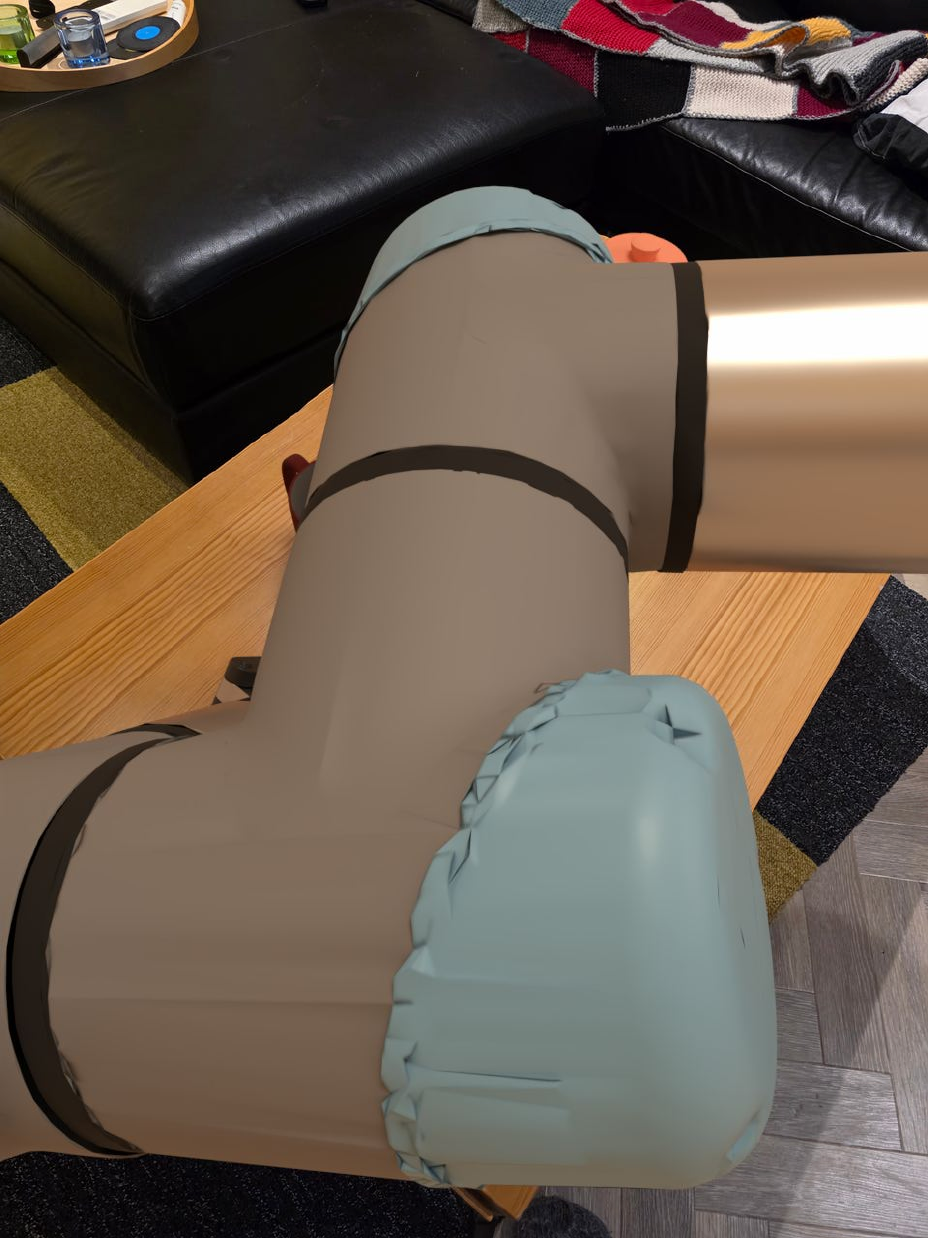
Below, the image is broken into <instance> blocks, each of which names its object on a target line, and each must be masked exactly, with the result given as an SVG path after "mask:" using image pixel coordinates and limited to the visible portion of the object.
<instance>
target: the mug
mask: <svg viewBox="0 0 928 1238" xmlns="http://www.w3.org/2000/svg"><path fill="white" fill-rule="evenodd" d="M315 463H316V459H315V460H313V461H311V462H309V461H308V460H307V459H306V458H305V457H304V456H303V455H301V454H299V453H292V454H291V455H289V456H287V457H286V458H285V459H284V460H283V461H282V462H281V475H282V480H283V484H284V487H285V491H286V495H287V500H288V507H289V512H290V517H291V521H292V525H293V528H294V532H295V533H294V534H296V530H297V526H298V524H299V521H300V517H301V512H302V511H303V510H304V509H305V505H306V500H307V496H308V492H309V488H310V484H311V480H312V476H313V472H314V468H315Z"/></svg>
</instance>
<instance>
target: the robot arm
mask: <svg viewBox="0 0 928 1238" xmlns="http://www.w3.org/2000/svg"><path fill="white" fill-rule="evenodd" d="M361 290H362V291H361V293H360V295H359V298H358V300H357V303H356V305H355V307H354V309H353V311H352V313H351V316H350V318H349V320H348V322H347V324H346V326H345V327H344V328H343V329H342V333H341V339H340V343H339V346H338V347H337V350H336V352H335V355H334V358H333V359H334V360H333V361H334V362H333V363H334V365H333V366H334V367H333V383H332V390H331V391H332V392H331V393H332V394H331V397H330V402H329V406H328V410H327V415H326V419H325V422H324V426H323V430H322V435H321V439H320V443H319V448H318V451H317V456H316V459H315V460H316V463H315V468H314V472H313V476H312V480H311V484H310V488H309V492H308V496H307V500H306V505H305V509H304V510H303V511H302V512H301V517H300V521H299V524H298V526H297V530H296V533H294V538H293V540H292V543H291V547H290V551H289V554H288V558H287V561H286V566H285V569H284V572H283V576H282V579H281V584H280V587H279V590H278V594H277V598H276V601H275V605H274V609H273V612H272V616H271V620H270V624H269V627H268V631H267V635H266V637H265V642H264V645H263V648H262V653H261V656H260V655H255V656H254V655H253V656H233V657H231V658H230V660H229V662H228V665H227V667H226V670H225V671H224V673H223V677H222V679H221V681H220V683H219V685H218V688H217V691H216V693H215V695H214V697H213V700H212V702H211V704H210V705H207V706H205V707H200V708H196V709H193V710H190V711H185V712H182V713H178V714H174V715H170V716H167V717H163V718H159V719H155V720H152V721H148V722H144V723H142V724H139V725H135V726H132V727H128V728H125V729H122V730H119V731H115V732H113V733H110V734H108V735H105V736H103V737H99V738H94V739H89V740H84V741H80V742H75V743H72V744H71V743H70V744H67V745H63V746H58V747H53V748H48V749H44V750H40V751H35V752H31V753H26V754H22V755H18V756H17V755H16V756H12V757H9V758H4V759H0V1162H2V1161H5V1160H7V1159H10V1158H14V1157H17V1156H19V1155H22V1154H26V1153H29V1152H50V1153H60V1154H66V1155H74V1156H75V1155H76V1156H82V1157H83V1156H84V1157H94V1158H103V1159H104V1158H105V1159H117V1160H119V1159H131V1158H133V1159H134V1158H139V1157H141V1156H145V1155H148V1154H150V1155H163V1156H172V1157H179V1158H182V1157H183V1158H190V1159H191V1158H192V1159H200V1160H210V1161H218V1162H228V1163H237V1164H248V1165H255V1166H256V1165H257V1166H267V1167H274V1168H275V1167H276V1168H285V1169H286V1168H287V1169H295V1170H305V1171H314V1172H315V1171H316V1172H324V1173H332V1174H333V1173H335V1174H344V1175H352V1176H363V1177H372V1178H382V1179H391V1180H401V1181H410V1182H415V1183H416V1184H418V1185H420V1186H423V1187H426V1188H431V1189H433V1188H434V1189H450V1188H461V1189H470V1190H477V1191H483V1190H484V1189H485V1188H487V1186H519V1187H520V1186H522V1187H524V1186H526V1187H555V1188H556V1187H558V1188H559V1187H560V1188H594V1189H596V1188H598V1189H630V1190H631V1189H632V1190H633V1189H634V1190H635V1189H636V1190H664V1191H665V1190H667V1191H668V1190H671V1191H676V1190H677V1191H678V1190H679V1191H680V1190H688V1189H691V1188H695V1187H697V1186H700V1185H702V1184H706V1183H708V1182H713V1181H715V1180H717V1179H719V1178H721V1177H723V1176H725V1175H727V1174H729V1173H730V1172H731V1171H732V1170H734V1169H735V1168H736V1167H738V1166H739V1165H740V1164H741V1163H742V1162H743V1161H744V1160H745V1159H746V1158H747V1157H748V1156H749V1155H750V1154H751V1153H752V1152H753V1150H754V1149H755V1147H756V1146H757V1144H758V1143H759V1141H760V1140H761V1138H762V1135H763V1133H764V1131H765V1128H766V1127H767V1124H768V1121H769V1118H770V1115H771V1112H772V1110H773V1105H774V1097H775V1092H776V1087H777V1086H776V1085H777V1075H778V1074H777V1073H778V1054H779V1053H778V1019H777V1016H778V1015H777V1013H778V1012H777V1001H776V1000H777V999H776V986H775V975H774V973H775V972H774V961H773V951H772V950H773V949H772V942H771V933H770V925H769V917H768V916H769V915H768V909H767V901H766V896H765V895H766V894H765V891H764V886H763V881H762V876H761V870H760V866H759V849H758V848H759V847H758V843H757V842H758V841H757V835H756V829H755V820H754V816H753V810H752V807H751V800H750V795H749V790H748V786H747V781H746V778H745V773H744V768H743V764H742V760H741V756H740V754H739V749H738V746H737V742H736V740H735V736H734V733H733V730H732V727H731V724H730V722H729V719H728V717H727V715H726V713H725V711H724V709H723V708H722V706H721V704H720V703H719V702H718V700H717V699H716V697H715V696H714V695H712V694H711V693H710V692H709V691H708V690H707V689H706V688H705V687H704V686H702V685H701V684H700V683H698V682H695V681H693V680H691V679H689V678H686V677H683V676H680V675H675V674H631V625H630V623H631V622H630V621H631V619H630V617H631V616H630V580H629V579H630V577H629V575H630V573H631V574H632V573H634V574H636V573H646V572H647V573H648V572H656V571H657V573H663V574H665V573H666V574H684V572H695V573H696V572H700V573H701V572H704V573H705V572H707V573H794V574H795V573H798V574H799V573H801V574H802V573H805V574H806V573H807V574H812V573H813V574H888V575H889V574H892V575H893V574H895V575H898V574H899V575H905V574H906V575H928V251H926V250H925V251H903V252H883V253H882V252H881V253H880V252H879V253H858V254H857V253H856V254H833V255H832V254H831V255H829V254H828V255H809V256H808V255H807V256H784V257H783V256H781V257H758V258H735V259H734V258H733V259H711V260H710V259H709V260H694V261H688V262H679V263H667V262H630V263H615V262H614V260H613V258H612V256H611V254H610V251H609V249H608V247H607V246H606V244H605V241H604V239H603V238H602V236H601V235H600V234H599V233H598V232H597V231H596V229H595V228H594V227H593V226H592V225H591V224H590V223H589V222H588V221H587V220H586V219H585V218H583V217H582V216H581V215H580V214H579V213H578V212H576V211H574V210H572V209H570V208H569V209H568V208H566V207H564V206H562V205H560V204H559V203H557V202H555V201H553V200H551V199H547V198H545V197H542V196H540V195H537V194H533V193H532V192H531V191H530V190H529V189H525V188H519V187H514V186H498V185H491V186H479V187H477V186H476V187H471V188H466V189H462V190H458V191H454V192H452V193H449V194H447V195H444V196H442V197H439V198H438V199H435V200H433V201H432V202H429V203H428V204H426V205H424V206H422V207H420V208H419V209H417V210H416V211H415V212H414V213H412V214H410V216H408V217H407V218H405V220H403V222H402V223H400V224H399V225H398V227H396V228H395V229H394V230H393V231H392V233H391V234H390V235H389V237H388V238H387V239H386V241H385V242H384V244H383V245H382V246H381V248H380V249H379V251H378V253H377V255H376V257H375V259H374V261H373V264H372V265H371V269H370V270H369V273H368V276H367V278H366V281H365V283H364V286H363V288H362V289H361Z"/></svg>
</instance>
